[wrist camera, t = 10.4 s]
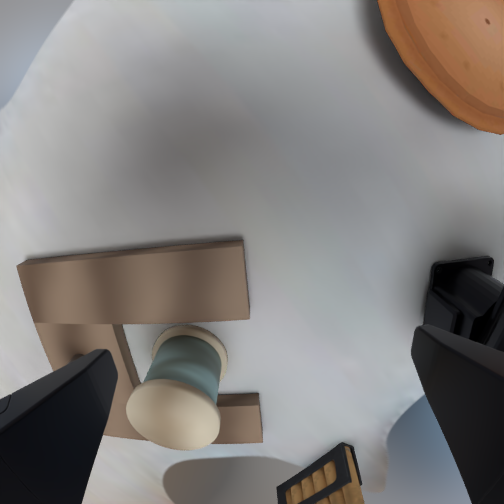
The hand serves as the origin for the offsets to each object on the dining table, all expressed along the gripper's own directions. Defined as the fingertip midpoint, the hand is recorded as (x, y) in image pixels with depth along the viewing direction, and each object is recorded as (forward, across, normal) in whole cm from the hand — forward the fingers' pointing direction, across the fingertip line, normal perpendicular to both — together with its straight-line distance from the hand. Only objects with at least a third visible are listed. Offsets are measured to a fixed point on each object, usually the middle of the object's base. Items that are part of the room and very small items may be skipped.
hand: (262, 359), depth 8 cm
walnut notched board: (+13, +10, +9) cm, 19 cm away
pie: (+13, -16, -15) cm, 26 cm away
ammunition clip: (+13, -4, +26) cm, 29 cm away
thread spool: (+13, +6, +9) cm, 17 cm away
